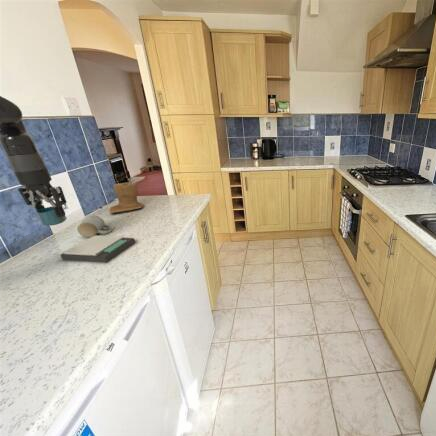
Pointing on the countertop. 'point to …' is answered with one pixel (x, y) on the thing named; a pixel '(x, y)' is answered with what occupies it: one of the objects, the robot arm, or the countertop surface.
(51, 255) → the countertop surface
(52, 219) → the bowl
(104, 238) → the scale
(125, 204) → the brown upright piece
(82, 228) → the ceramic mug
